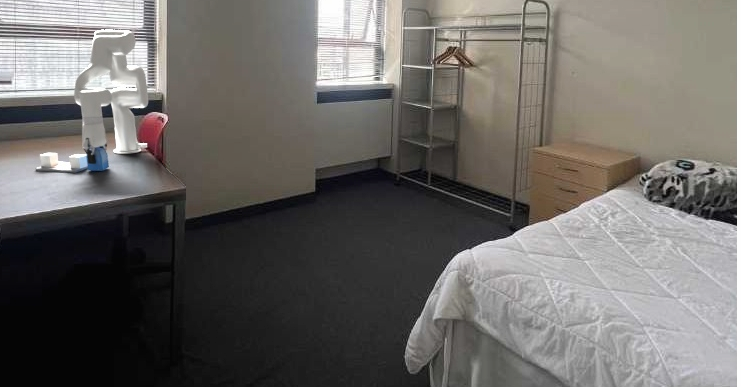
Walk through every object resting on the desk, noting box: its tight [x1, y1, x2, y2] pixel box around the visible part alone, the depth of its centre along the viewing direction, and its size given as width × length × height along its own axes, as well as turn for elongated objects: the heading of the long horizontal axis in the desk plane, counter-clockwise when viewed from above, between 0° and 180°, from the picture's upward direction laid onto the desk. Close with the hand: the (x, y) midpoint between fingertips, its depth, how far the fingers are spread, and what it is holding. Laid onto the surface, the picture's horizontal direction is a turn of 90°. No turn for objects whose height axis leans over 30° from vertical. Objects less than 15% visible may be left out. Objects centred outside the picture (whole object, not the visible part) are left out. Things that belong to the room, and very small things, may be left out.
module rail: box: [34, 152, 88, 174], centre depth 231 cm, size 18×12×6 cm, turn 83°
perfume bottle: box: [86, 146, 110, 172], centre depth 229 cm, size 6×6×12 cm
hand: (97, 161), depth 229 cm, fingers closed on perfume bottle, 7 cm apart
